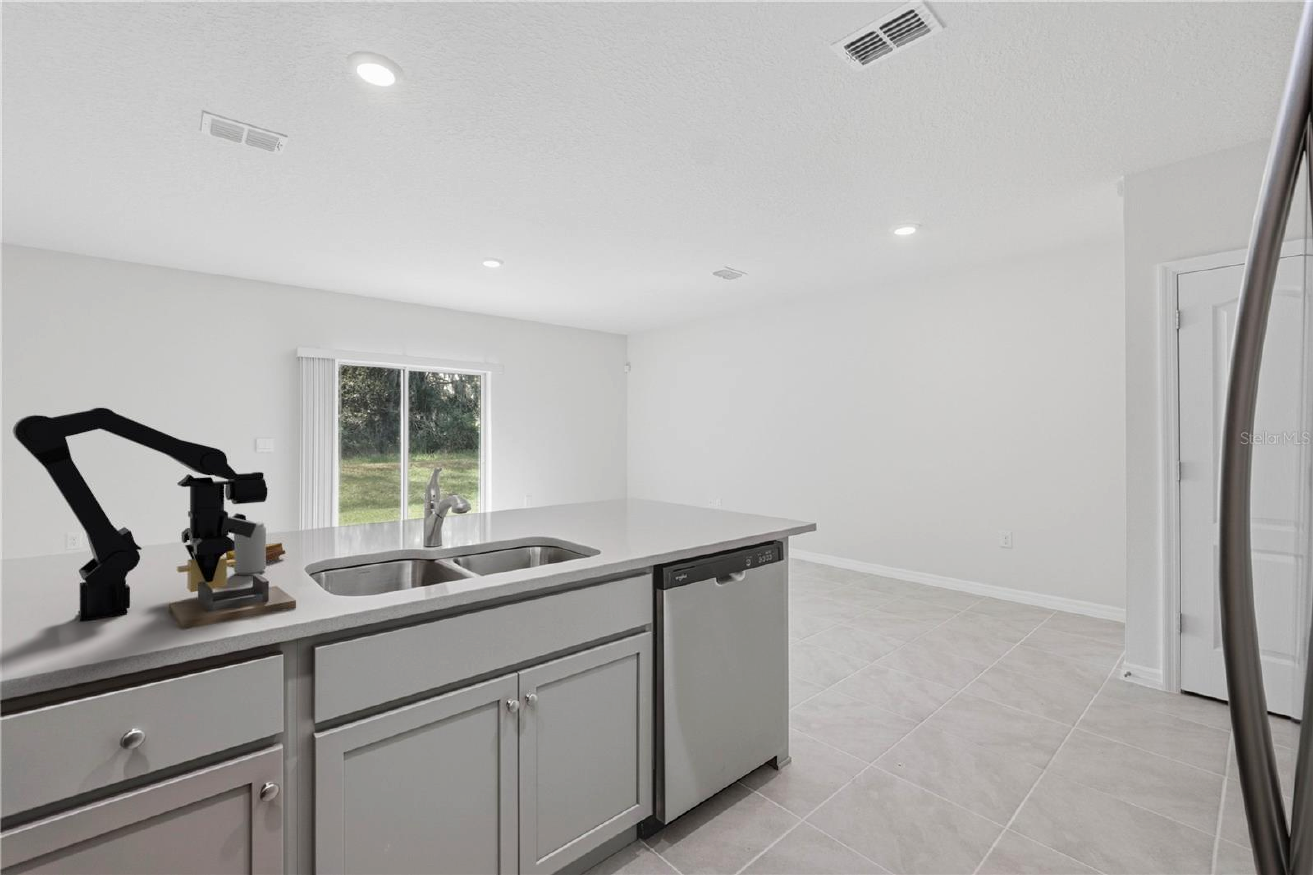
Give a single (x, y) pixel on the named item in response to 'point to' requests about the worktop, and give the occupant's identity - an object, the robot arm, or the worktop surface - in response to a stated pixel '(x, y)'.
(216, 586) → the block
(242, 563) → the beverage can
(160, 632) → the worktop surface
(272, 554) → the toy sandwich meal
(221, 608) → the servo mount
